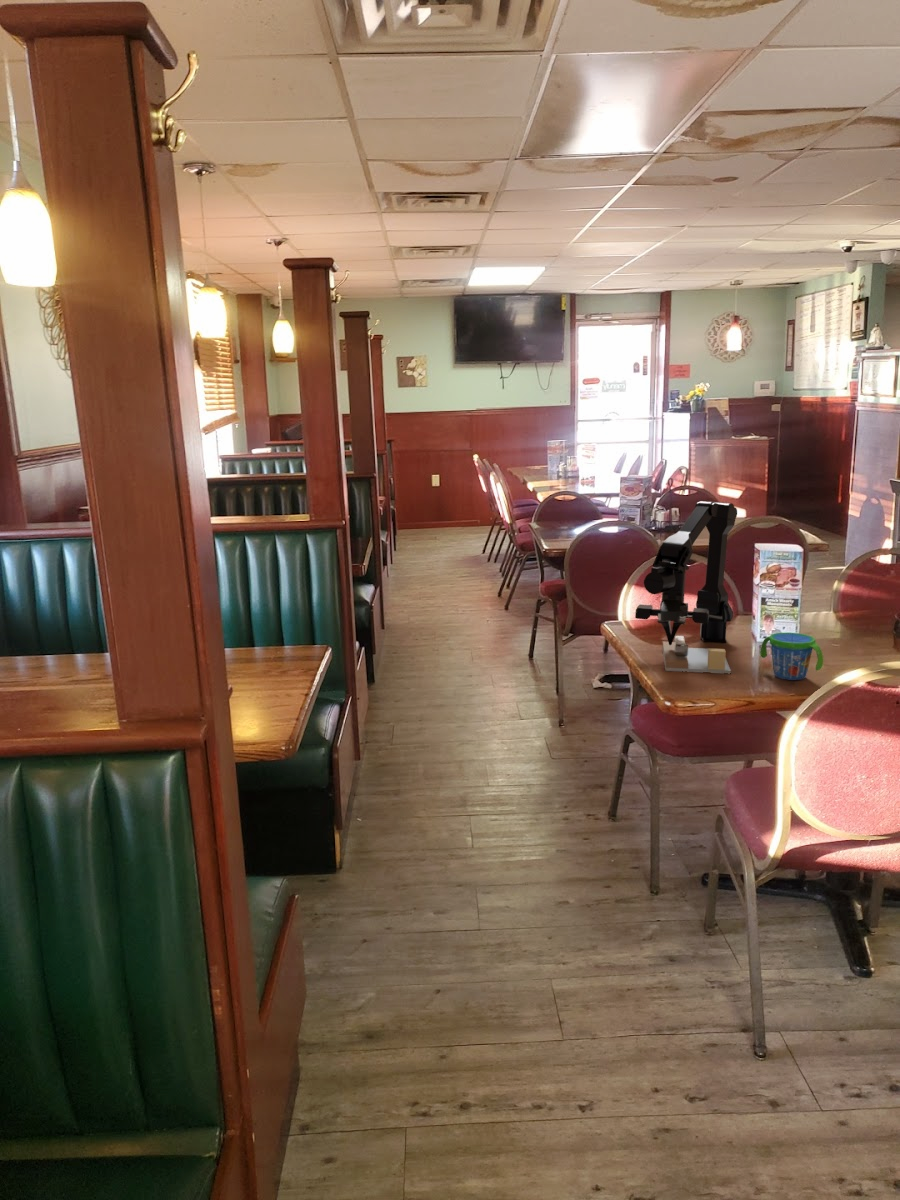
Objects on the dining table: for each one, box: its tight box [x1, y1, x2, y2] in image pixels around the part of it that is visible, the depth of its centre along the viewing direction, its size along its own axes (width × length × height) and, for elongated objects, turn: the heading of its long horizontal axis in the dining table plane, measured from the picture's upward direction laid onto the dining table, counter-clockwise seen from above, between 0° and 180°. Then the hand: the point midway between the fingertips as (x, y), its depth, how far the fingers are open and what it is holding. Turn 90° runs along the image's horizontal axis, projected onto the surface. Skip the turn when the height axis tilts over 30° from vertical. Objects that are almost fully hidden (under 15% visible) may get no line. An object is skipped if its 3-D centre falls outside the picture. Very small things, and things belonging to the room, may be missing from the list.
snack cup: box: [759, 632, 824, 681], centre depth 210 cm, size 16×10×10 cm
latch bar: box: [674, 635, 689, 656], centre depth 224 cm, size 13×3×2 cm, turn 168°
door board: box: [661, 641, 732, 675], centre depth 225 cm, size 16×20×6 cm
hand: (670, 644), depth 228 cm, fingers closed
